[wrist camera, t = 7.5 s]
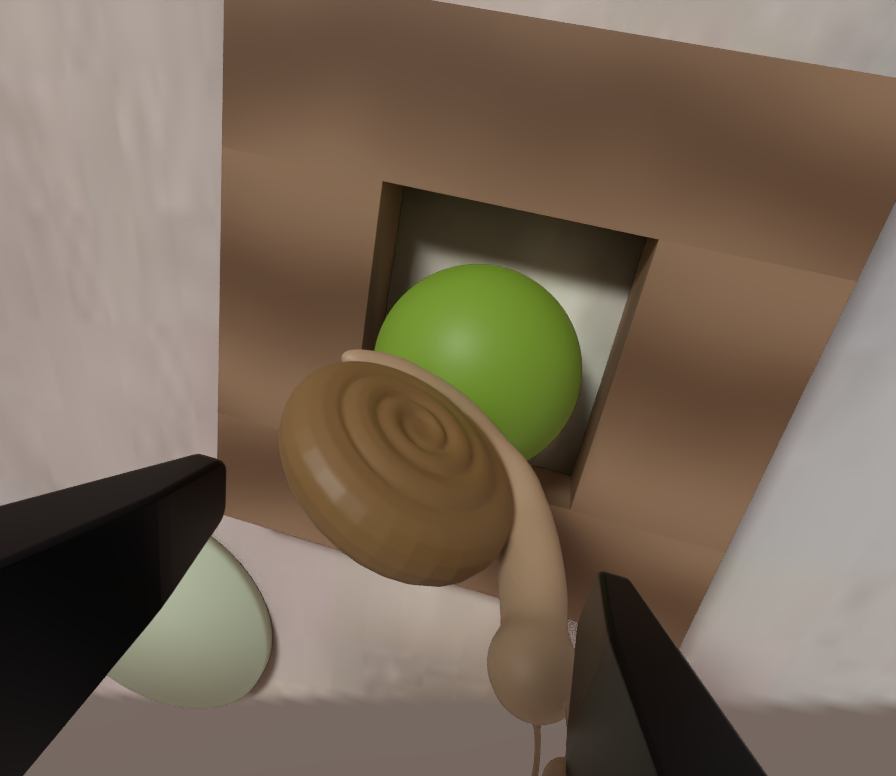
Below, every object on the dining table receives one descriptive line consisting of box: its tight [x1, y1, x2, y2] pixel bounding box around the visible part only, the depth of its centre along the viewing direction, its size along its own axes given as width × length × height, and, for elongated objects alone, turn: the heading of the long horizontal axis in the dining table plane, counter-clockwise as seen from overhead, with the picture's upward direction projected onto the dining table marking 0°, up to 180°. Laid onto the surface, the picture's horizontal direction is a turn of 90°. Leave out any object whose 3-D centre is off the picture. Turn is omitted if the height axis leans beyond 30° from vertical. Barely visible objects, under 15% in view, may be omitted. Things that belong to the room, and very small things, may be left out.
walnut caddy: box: [217, 0, 896, 649], centre depth 16 cm, size 16×16×2 cm
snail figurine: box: [279, 264, 582, 776], centre depth 12 cm, size 5×6×12 cm
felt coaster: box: [107, 537, 272, 709], centre depth 25 cm, size 11×11×1 cm
